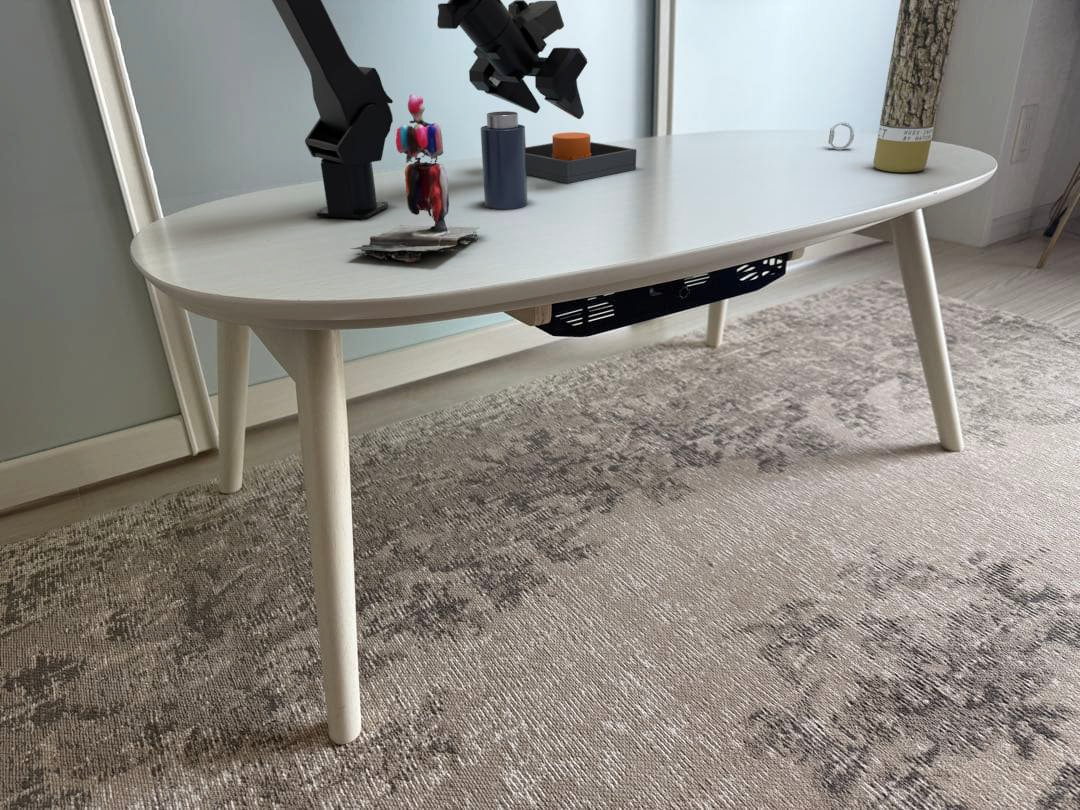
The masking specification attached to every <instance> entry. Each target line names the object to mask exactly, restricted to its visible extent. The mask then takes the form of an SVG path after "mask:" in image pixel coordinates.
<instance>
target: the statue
mask: <svg viewBox="0 0 1080 810" xmlns="http://www.w3.org/2000/svg"><path fill="white" fill-rule="evenodd" d="M425 109H426V107H425V104H424V98H423V96H422V95H419V94H410V95H409V98H408V102H407V110H408V113H410V115H411V116H412V118H413V119H412V120H409V124H414V126H412V125H405V124H401V125H400V126H399V127H398V128H397V129H396V135H395V136H396V137H395V145H396V151H397V152H398V153H399V154H403V153H404V154H405V155H406V156H405V163H406V164H407V163H409V162H410V163H409V164H408V165H407V166H406V167H405V169H404V178H405V181H404V182H405V192H406V193H405V194H406V205H407V210H409V212H410V213H411V214H412V215H414V216H418V215H419V214H420V211H421V212H422V211H424V212H427V213H428V215H429V217H430V218H431V219H433V222H434V225H431V226H429V225H408V224H401V225H397V226H395V227H394V228H392V229H390V230H388V231H385V232H382V233H380V234H377V235H371V236H370V237H369V244H363V245H361V246H357V247H352V248H350V250H361V252H363V253H356V255H357V256H358V255H359V256H360V255H362V256H371V257H375V258H377V259H379V260H383V259H384V258H385V260H387V258H386V256H391V258H393V259H395V260H399V261H404V262H406V263H414V262H417V261H421V260H420V259H421V255H422V254H423V253H430V252H432V251H434V252H436V251H439V252H442V253H443V250H444V251H445V252H446V251H457V252H458V249H454V248H451V247H456V246H457V245H458V240H459V243H460V244H464V245H468V244H469V243H471V240H461V239H462V238H464V237H466V238H474V239H475V240H476V241H477V240H478V239H477V238H478V235H477V233H478V231H477V230H479V229H481V226H447V223H446V220H445V217H446V216H447V215H448V214H449V207H450V201H449V199H450V197H449V181H448V180H449V179H448V175H447V172H446V169H445V167H444V165H443V164H441V163H437V161H438V157H440V156H442V155H443V154H444V145H443V144H444V143H443V142H444V141H443V134H442V129H441V125H440V124H439V123H435V122H433V123H429V122H426V121H424V117H423V113H425ZM415 123H416V124H415ZM421 153H422V154H423V155H421V157H422V158H425V156H426V157H428V158H430V162H428V161H424V162H422V161H421V157H418V155H419V154H421ZM413 158H414V160H415V161H414V162H413V160H412V159H413ZM433 160H434V162H433ZM444 248H447V249H444Z"/></svg>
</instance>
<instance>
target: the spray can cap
mask: <svg viewBox="0 0 1080 810" xmlns="http://www.w3.org/2000/svg"><path fill="white" fill-rule="evenodd" d="M590 142H591V134H590V133H587V132H576V131H575V132H560V133H559V132H558V133H555V134H553V135H552V143H553V153H552V158H554V159H560V160H565V161H571V160H576V159H581V158H587V157H591V153H590Z"/></svg>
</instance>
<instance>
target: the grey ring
mask: <svg viewBox="0 0 1080 810" xmlns="http://www.w3.org/2000/svg"><path fill="white" fill-rule="evenodd" d="M838 126H842V127H843V126H844V127H847V128H848V129H849V139H848V142H847V143H846V144H845V145H844V146H842V147H840V146H836V145H834V144H833V142H834V138H835V129H836V128H837V127H838ZM854 138H855V132H854V127H853V126H852V125H851V124H850V123H848V122H847V121H846V122H838V123H836V124H835V125H833V126H832V127H830V129H829V137H828V145H830V146H831V147H832V149H835V150H837V151H842V150H844V149H848V148H849V147H850V145H851V144H852V143H853V141H854Z"/></svg>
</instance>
